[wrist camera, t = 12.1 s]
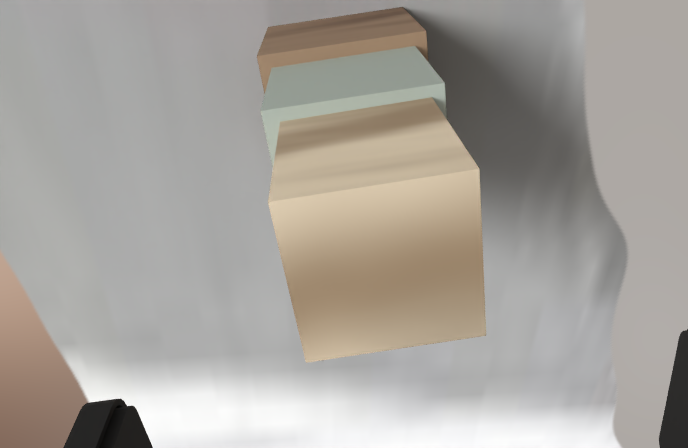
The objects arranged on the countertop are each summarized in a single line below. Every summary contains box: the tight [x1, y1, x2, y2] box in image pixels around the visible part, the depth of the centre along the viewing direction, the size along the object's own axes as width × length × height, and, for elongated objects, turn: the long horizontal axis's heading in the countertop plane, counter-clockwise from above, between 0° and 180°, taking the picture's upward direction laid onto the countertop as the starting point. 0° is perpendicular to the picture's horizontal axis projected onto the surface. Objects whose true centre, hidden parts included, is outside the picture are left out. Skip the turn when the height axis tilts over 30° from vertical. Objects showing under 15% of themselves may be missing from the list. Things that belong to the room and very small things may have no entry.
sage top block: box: [261, 46, 447, 167], centre depth 23 cm, size 6×6×6 cm
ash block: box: [268, 97, 486, 363], centre depth 17 cm, size 5×5×6 cm
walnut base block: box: [257, 7, 428, 93], centre depth 28 cm, size 7×7×7 cm
